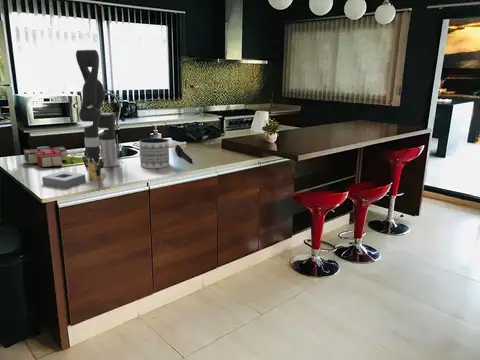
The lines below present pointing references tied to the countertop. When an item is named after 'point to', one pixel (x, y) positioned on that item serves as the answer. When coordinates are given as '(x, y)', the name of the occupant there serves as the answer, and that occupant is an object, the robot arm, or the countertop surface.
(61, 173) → the hole block
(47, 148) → the toy
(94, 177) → the peg
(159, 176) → the countertop surface
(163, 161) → the planter
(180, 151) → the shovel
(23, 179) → the countertop surface
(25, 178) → the countertop surface
